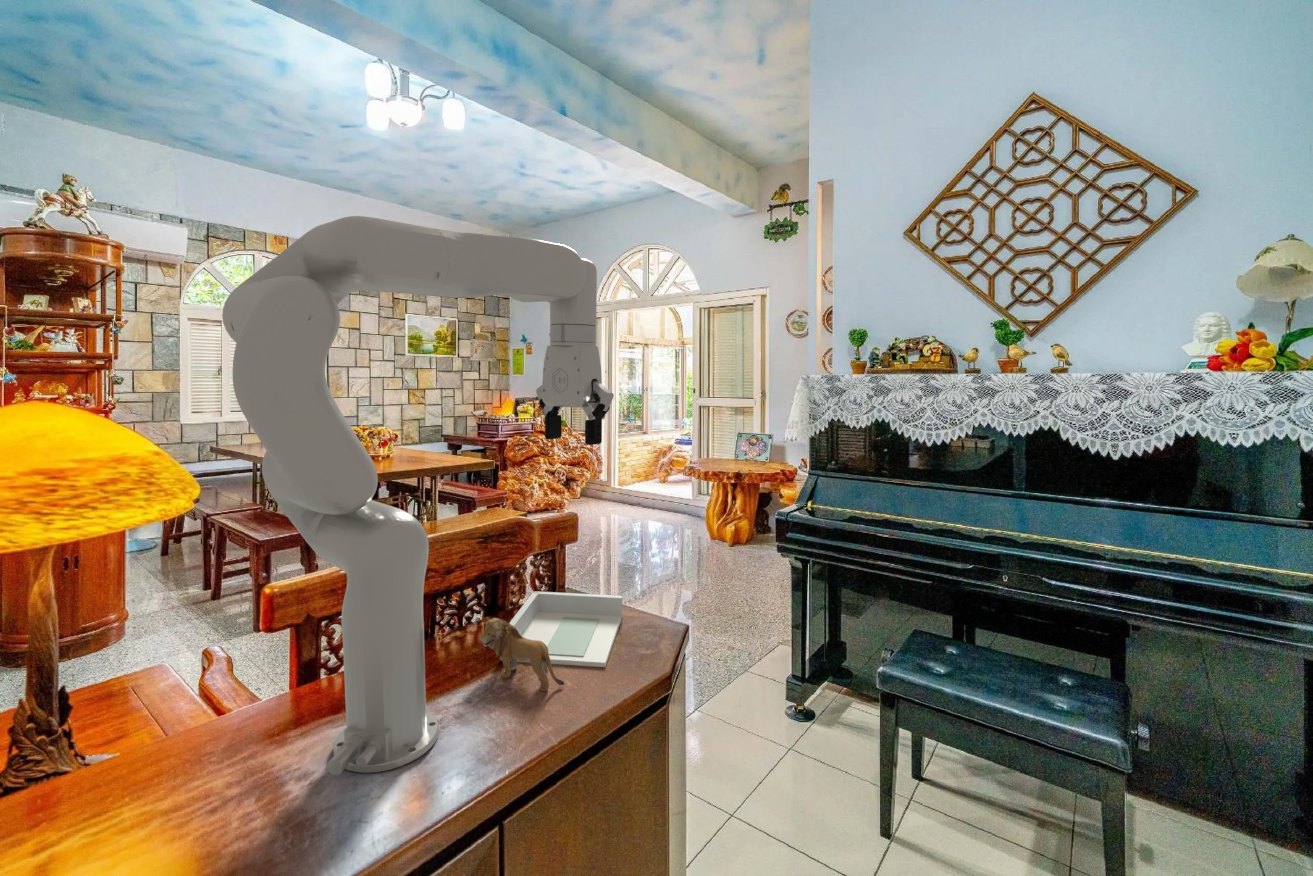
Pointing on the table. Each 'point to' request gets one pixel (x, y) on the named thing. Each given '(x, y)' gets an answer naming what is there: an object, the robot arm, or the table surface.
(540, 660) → the lion figurine
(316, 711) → the table surface
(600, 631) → the tray
